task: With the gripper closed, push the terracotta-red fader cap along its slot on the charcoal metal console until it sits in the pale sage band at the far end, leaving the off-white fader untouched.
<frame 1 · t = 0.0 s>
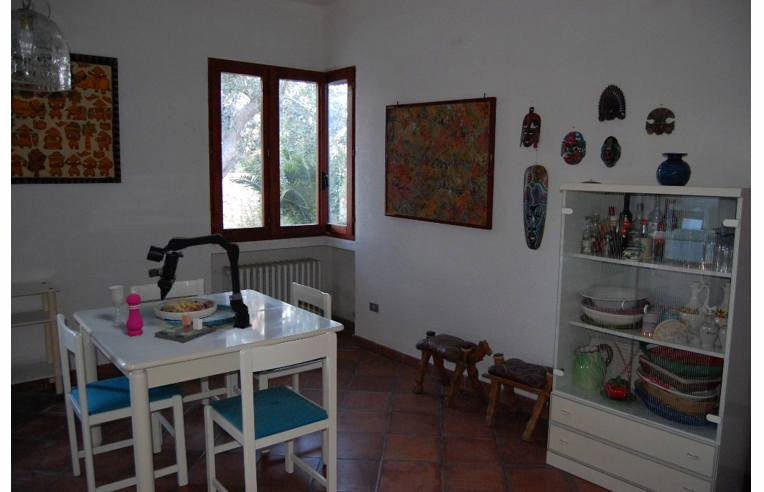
hand: (163, 297, 264), 15 cm above the table, tool pointing down, fingers open, 9 cm apart
chalice: (118, 325, 276), on the table
console: (186, 333, 262), on the table
fader 2: (197, 323, 261), point 5 cm above the table, slide at -2.0 cm
pepper mill: (135, 334, 261), on the table
bowl: (186, 315, 295), on the table
fader 1: (186, 319, 268), point 5 cm above the table, slide at -5.0 cm
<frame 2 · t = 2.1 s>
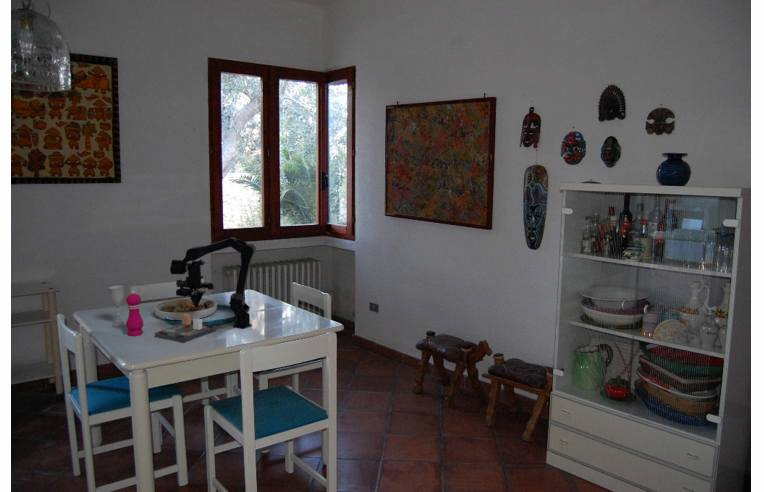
hand: (195, 307, 273), 9 cm above the table, tool pointing down, fingers closed
nothing on the table moved.
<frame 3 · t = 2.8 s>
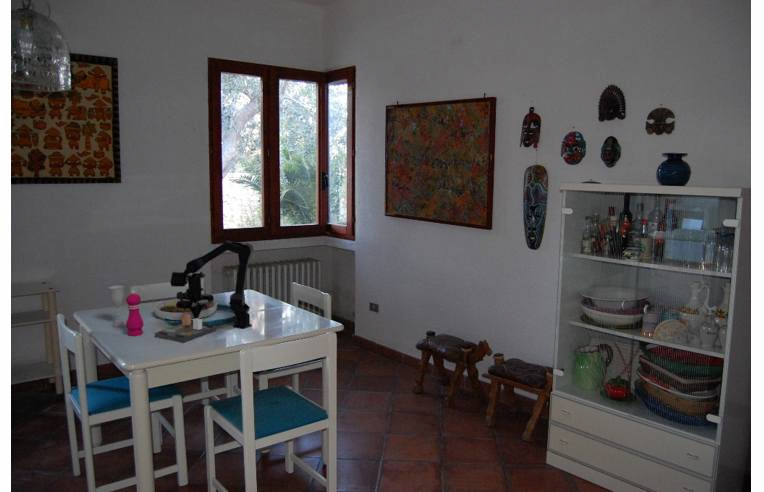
hand: (196, 319, 274), 4 cm above the table, tool pointing down, fingers closed
nothing on the table moved.
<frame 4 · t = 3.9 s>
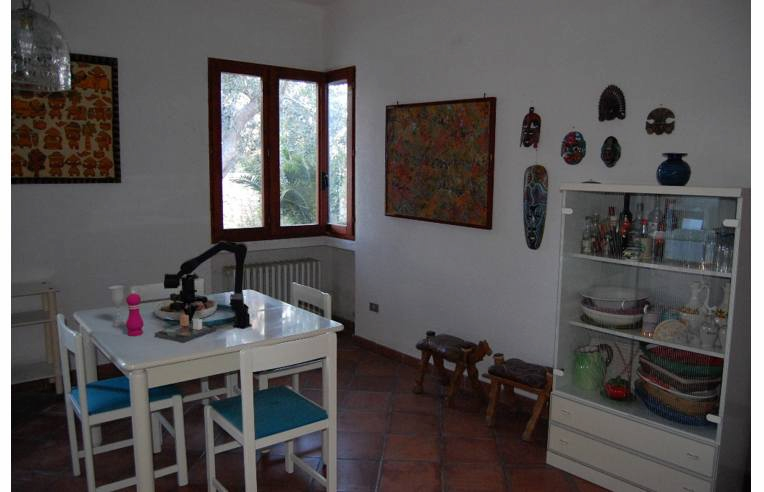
hand: (189, 321, 270), 4 cm above the table, tool pointing down, fingers closed
fader 1: (184, 320, 267), point 5 cm above the table, slide at -3.6 cm, touching gripper
everything else where it was.
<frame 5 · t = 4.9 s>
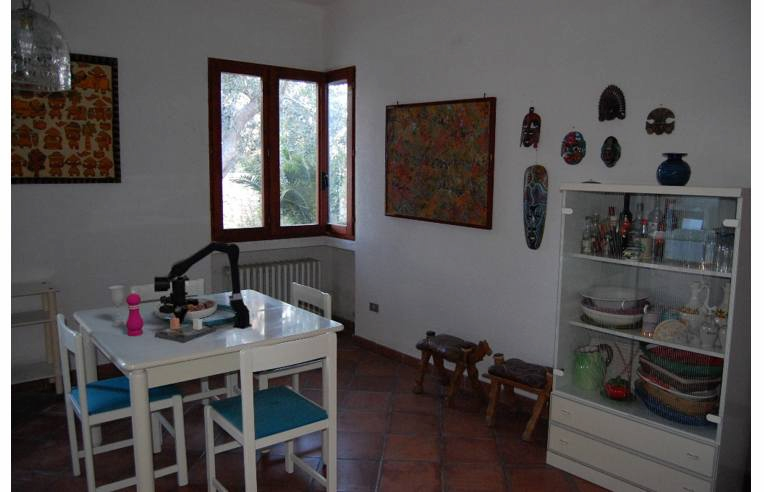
hand: (180, 324, 265), 4 cm above the table, tool pointing down, fingers closed
fader 1: (174, 323, 262), point 5 cm above the table, slide at 2.2 cm, touching gripper
everything else where it was.
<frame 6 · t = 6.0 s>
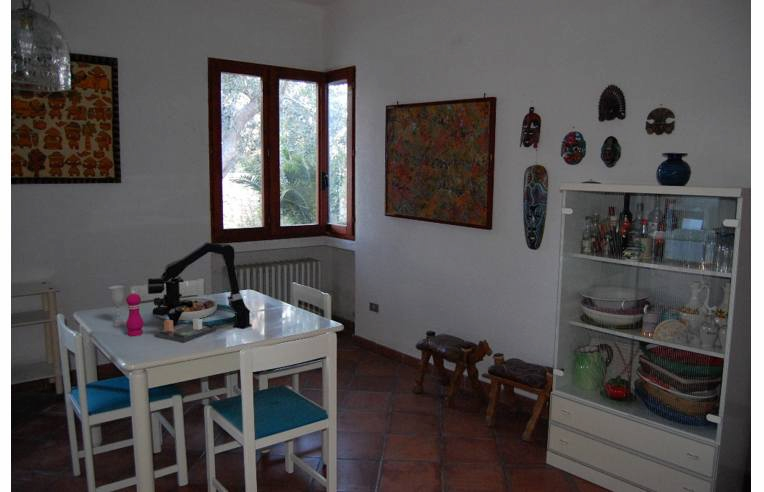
hand: (174, 326, 262), 4 cm above the table, tool pointing down, fingers closed
fader 1: (168, 325, 259), point 5 cm above the table, slide at 5.8 cm, touching gripper
everything else where it was.
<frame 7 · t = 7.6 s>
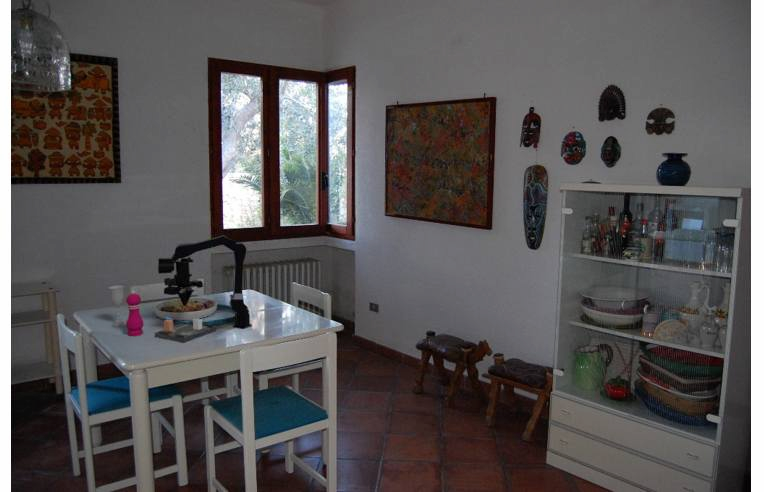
hand: (184, 305, 265), 12 cm above the table, tool pointing down, fingers closed
fader 1: (168, 325, 258), point 5 cm above the table, slide at 5.8 cm
everything else where it was.
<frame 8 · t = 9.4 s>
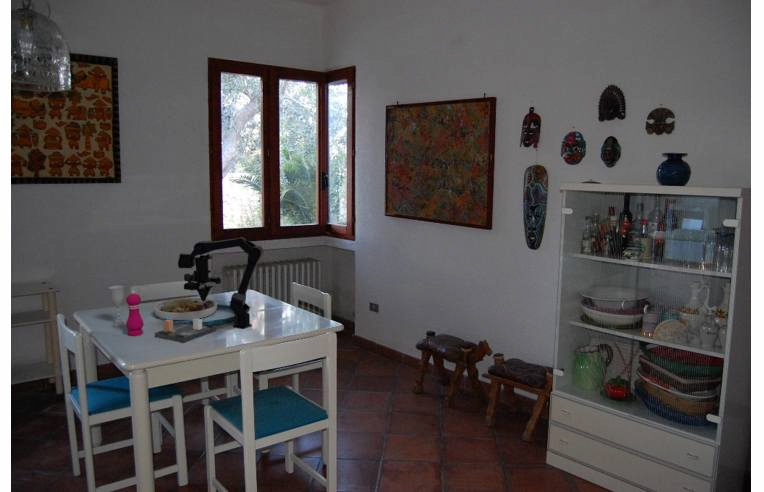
hand: (203, 301, 273), 12 cm above the table, tool pointing down, fingers closed
nothing on the table moved.
at the end: fader 1 slide at 5.8 cm; fader 2 slide at -2.0 cm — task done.
